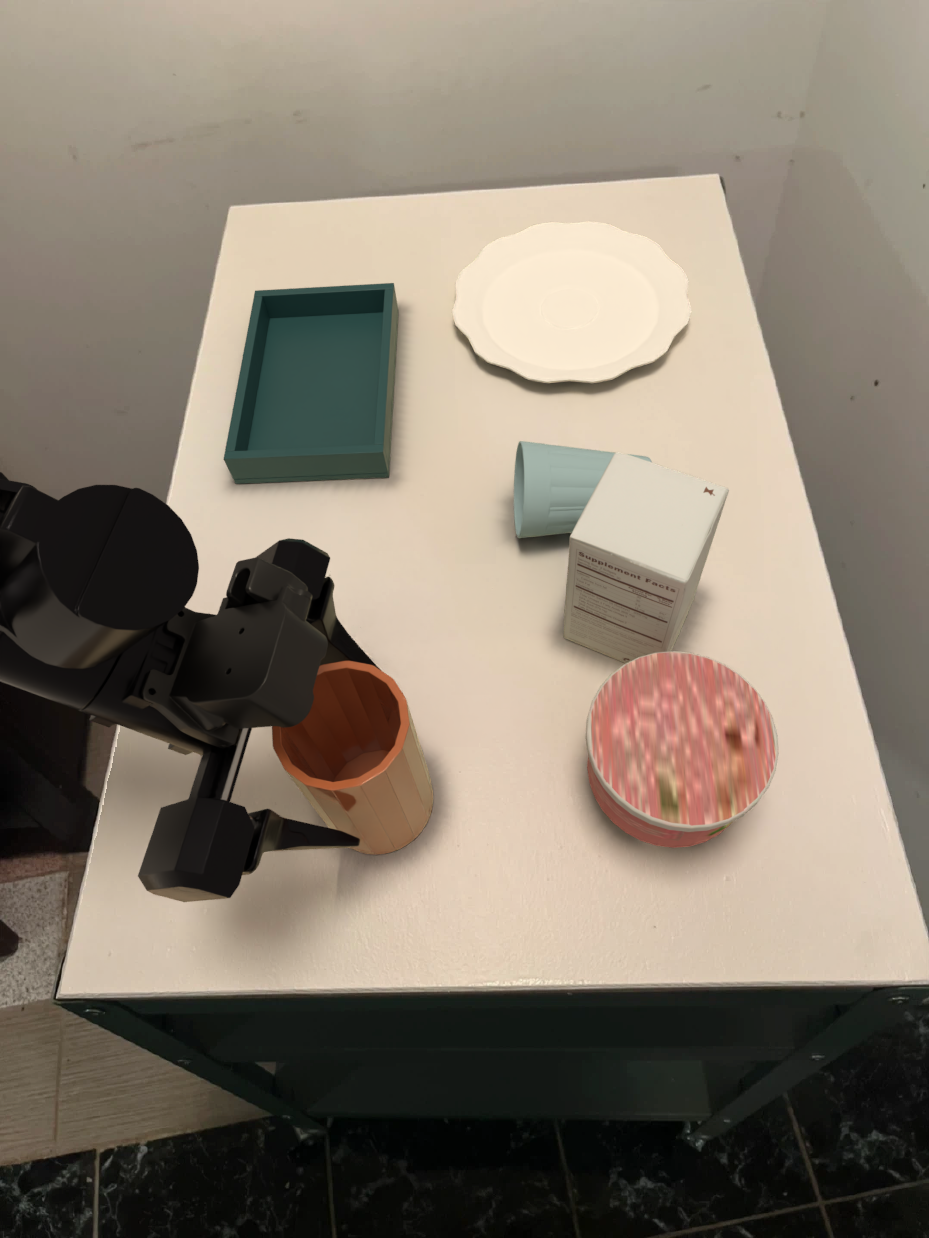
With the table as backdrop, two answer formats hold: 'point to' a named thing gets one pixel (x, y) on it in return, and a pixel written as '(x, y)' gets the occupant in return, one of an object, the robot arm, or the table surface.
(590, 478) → the cup
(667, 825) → the container
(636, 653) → the white packaging box
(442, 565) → the table surface
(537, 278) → the plate
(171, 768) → the table surface
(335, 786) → the tumbler
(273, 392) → the tray
